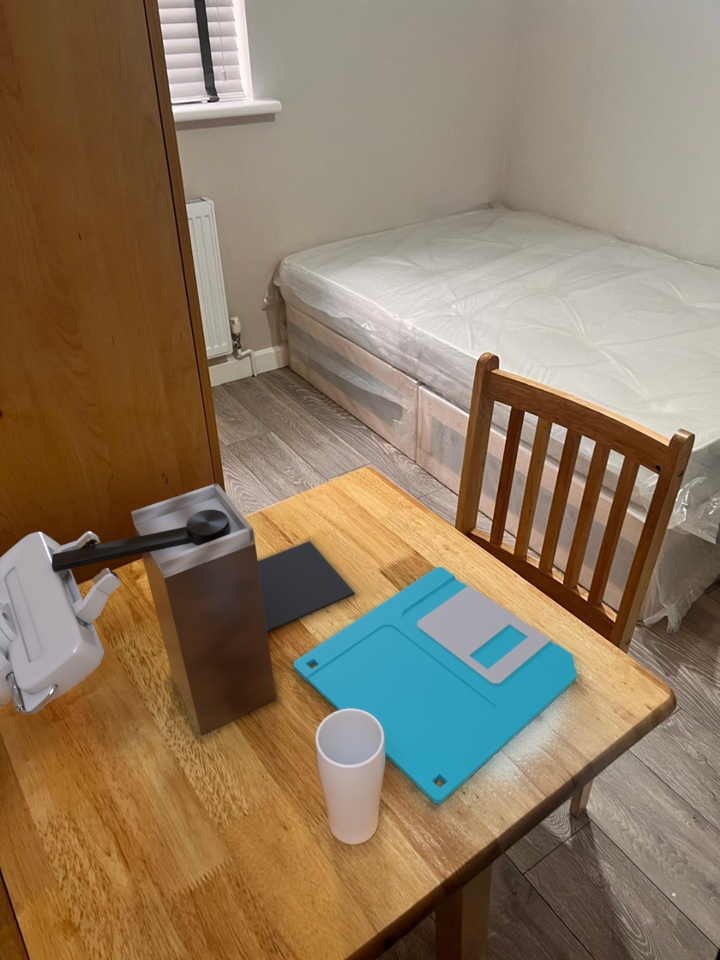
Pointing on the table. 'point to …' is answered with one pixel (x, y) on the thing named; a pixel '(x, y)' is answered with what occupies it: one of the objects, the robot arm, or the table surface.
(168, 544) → the lever handle
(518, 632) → the diskette
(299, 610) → the mat
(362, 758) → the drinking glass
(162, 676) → the table surface
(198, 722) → the stand
